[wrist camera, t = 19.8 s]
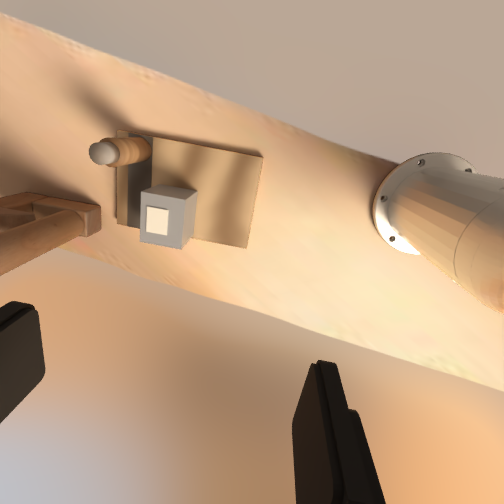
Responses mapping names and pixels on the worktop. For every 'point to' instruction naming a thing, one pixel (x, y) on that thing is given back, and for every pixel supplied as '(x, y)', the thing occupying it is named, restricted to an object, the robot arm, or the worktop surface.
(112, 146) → the grey-capped wooden cylinder
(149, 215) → the block
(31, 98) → the worktop surface
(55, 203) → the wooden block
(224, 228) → the panel
